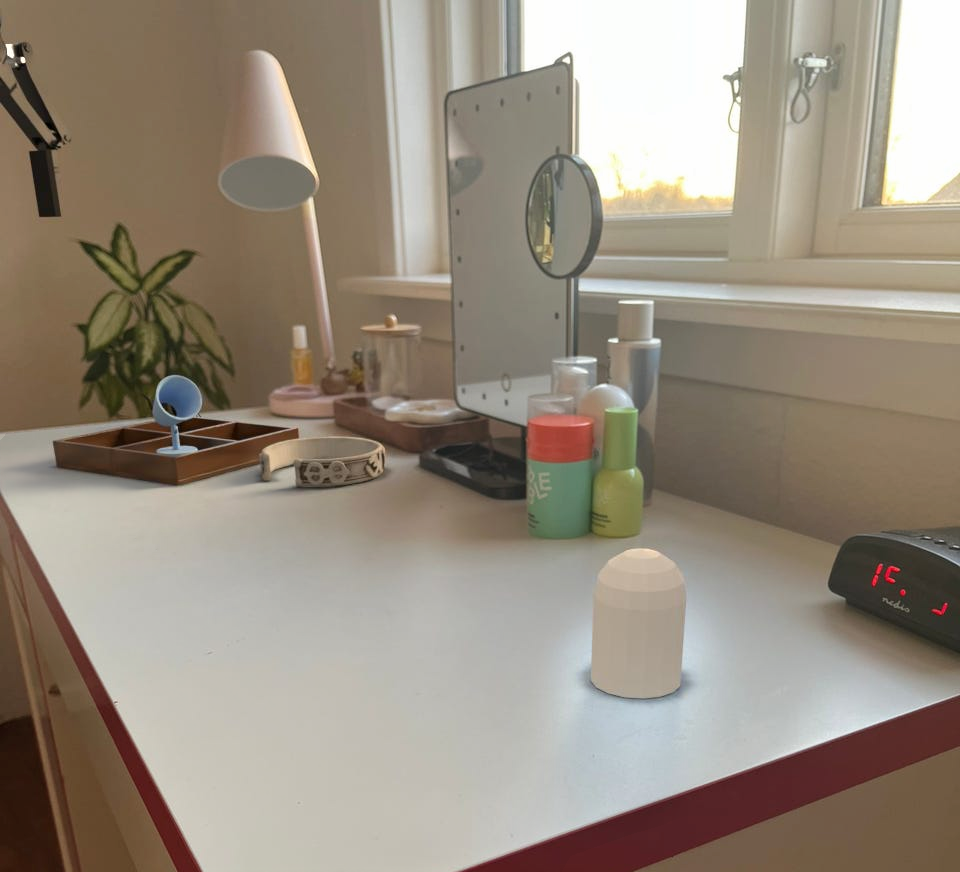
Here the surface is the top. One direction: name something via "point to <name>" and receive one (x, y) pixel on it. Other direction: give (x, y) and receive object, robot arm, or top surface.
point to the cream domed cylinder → (638, 625)
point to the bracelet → (325, 460)
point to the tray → (137, 446)
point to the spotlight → (186, 405)
